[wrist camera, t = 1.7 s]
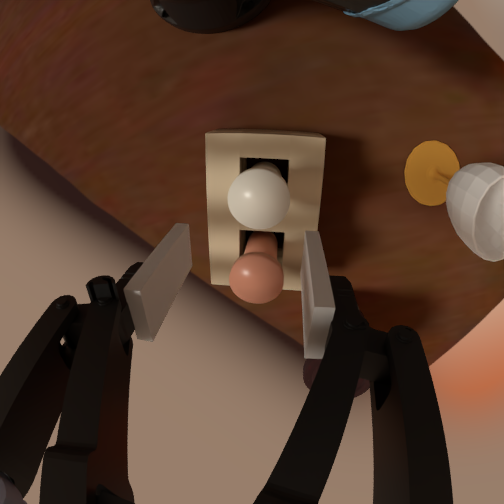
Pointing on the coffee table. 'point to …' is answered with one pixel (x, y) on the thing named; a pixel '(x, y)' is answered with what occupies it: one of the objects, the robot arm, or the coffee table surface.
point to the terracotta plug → (258, 270)
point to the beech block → (299, 183)
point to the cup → (461, 195)
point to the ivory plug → (259, 196)
